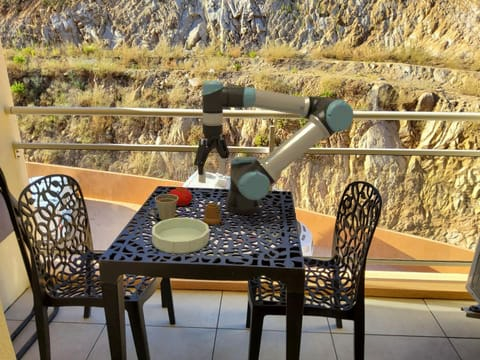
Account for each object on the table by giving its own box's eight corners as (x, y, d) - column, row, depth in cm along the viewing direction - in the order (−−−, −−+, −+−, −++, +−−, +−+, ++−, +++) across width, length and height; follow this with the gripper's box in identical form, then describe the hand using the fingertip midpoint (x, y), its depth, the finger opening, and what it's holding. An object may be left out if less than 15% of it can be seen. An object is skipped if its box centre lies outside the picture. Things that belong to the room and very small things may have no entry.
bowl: (205, 227, 151) (206, 216, 149) (211, 251, 132) (211, 240, 131) (153, 229, 147) (153, 218, 146) (151, 255, 129) (150, 242, 127)
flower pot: (173, 223, 153) (173, 203, 151) (151, 220, 155) (150, 200, 152) (181, 214, 162) (181, 195, 159) (160, 212, 164) (160, 193, 161)
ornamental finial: (220, 226, 152) (202, 225, 152) (221, 218, 160) (203, 218, 160) (221, 207, 150) (202, 206, 150) (222, 200, 157) (204, 200, 157)
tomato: (175, 209, 168) (175, 195, 166) (165, 201, 176) (165, 187, 174) (195, 205, 173) (195, 191, 171) (185, 197, 181) (185, 184, 179)
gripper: (222, 118, 156) (222, 169, 162) (183, 127, 135) (184, 184, 142) (238, 120, 152) (237, 172, 159) (200, 129, 132) (201, 188, 138)
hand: (212, 178), depth 150 cm, fingers open, 13 cm apart
